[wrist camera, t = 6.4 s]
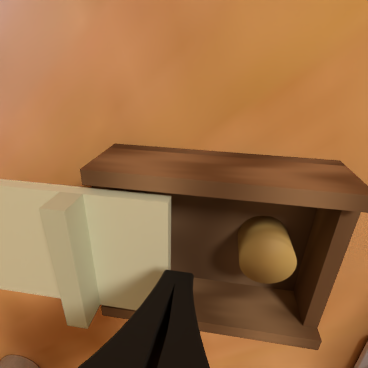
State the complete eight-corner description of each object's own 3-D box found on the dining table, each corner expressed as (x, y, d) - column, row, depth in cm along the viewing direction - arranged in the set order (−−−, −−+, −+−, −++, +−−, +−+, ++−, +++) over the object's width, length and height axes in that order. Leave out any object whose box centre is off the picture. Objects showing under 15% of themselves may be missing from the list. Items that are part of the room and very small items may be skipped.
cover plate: (171, 195, 13) (160, 222, 11) (170, 305, 16) (161, 341, 14) (-56, 173, 14) (-103, 192, 12) (-14, 277, 18) (-46, 305, 16)
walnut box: (340, 160, 14) (378, 196, 11) (300, 292, 19) (318, 350, 15) (114, 143, 16) (80, 169, 12) (125, 268, 20) (102, 315, 17)
